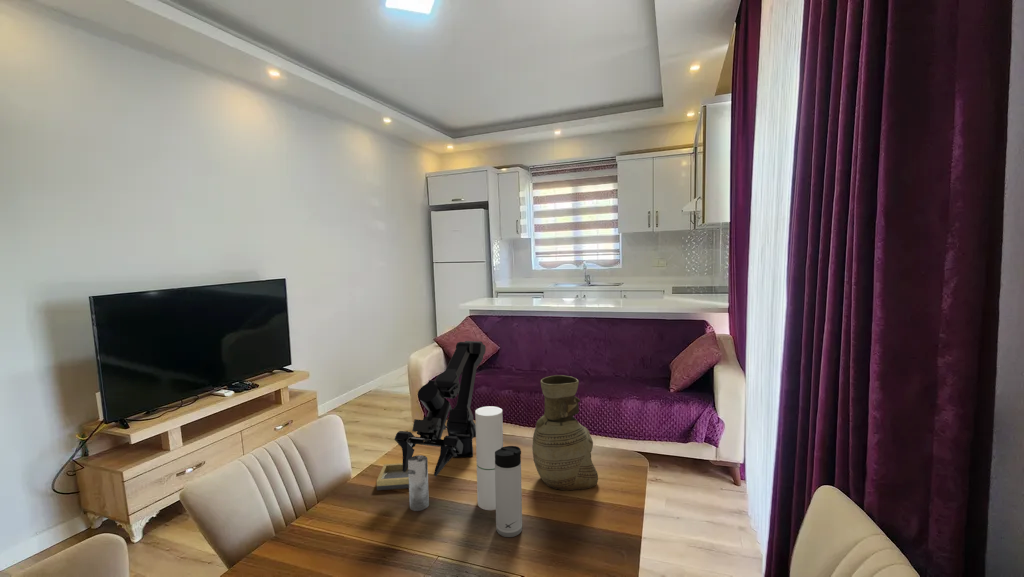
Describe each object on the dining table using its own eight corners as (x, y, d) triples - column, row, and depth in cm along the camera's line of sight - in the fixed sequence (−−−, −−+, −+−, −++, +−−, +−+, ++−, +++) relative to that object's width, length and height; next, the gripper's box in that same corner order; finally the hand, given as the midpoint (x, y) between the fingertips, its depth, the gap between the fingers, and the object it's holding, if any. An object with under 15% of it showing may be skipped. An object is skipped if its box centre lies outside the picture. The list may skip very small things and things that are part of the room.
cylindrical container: (505, 495, 115) (503, 406, 113) (502, 510, 108) (500, 416, 106) (480, 494, 116) (477, 406, 114) (475, 509, 109) (472, 415, 107)
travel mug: (512, 542, 96) (511, 457, 95) (490, 531, 100) (489, 449, 99) (528, 527, 101) (527, 447, 100) (506, 518, 105) (505, 440, 103)
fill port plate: (417, 470, 130) (416, 462, 129) (412, 487, 120) (412, 478, 120) (384, 472, 129) (383, 464, 129) (376, 490, 119) (376, 481, 119)
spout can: (415, 498, 114) (413, 454, 113) (432, 501, 113) (430, 456, 112) (401, 514, 107) (399, 467, 106) (419, 517, 106) (417, 469, 105)
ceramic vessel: (603, 466, 130) (602, 371, 128) (593, 503, 110) (592, 392, 109) (544, 457, 137) (542, 367, 135) (524, 491, 117) (522, 386, 115)
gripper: (396, 402, 118) (375, 458, 108) (458, 407, 113) (441, 467, 103) (411, 420, 126) (392, 473, 116) (469, 425, 121) (455, 482, 111)
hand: (419, 473), depth 111 cm, fingers open, 9 cm apart
